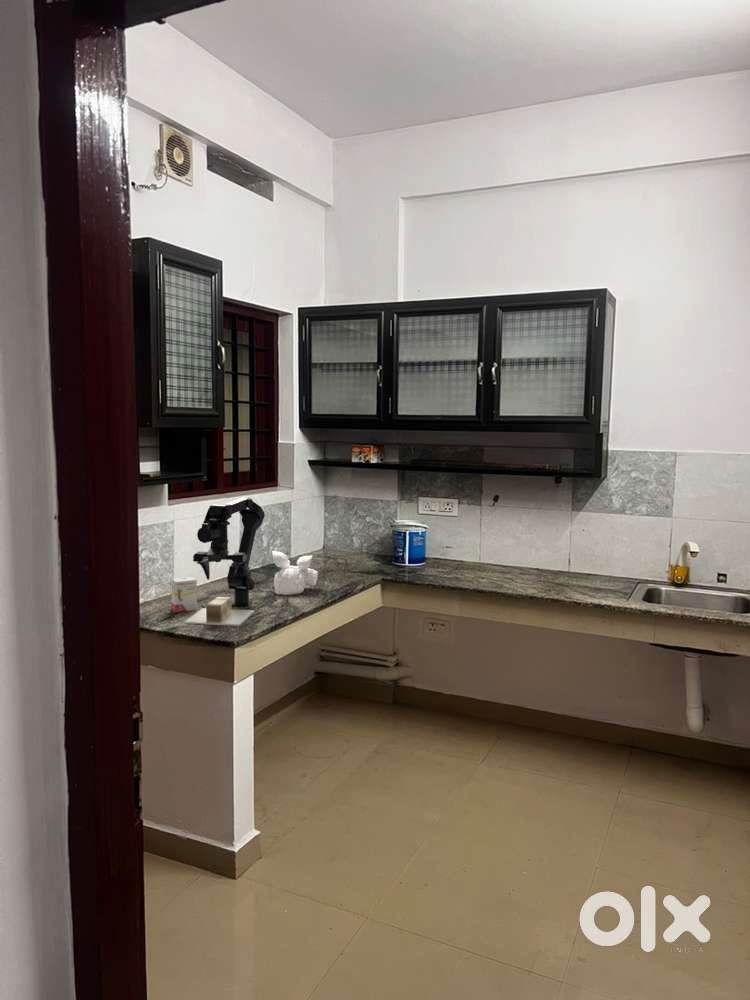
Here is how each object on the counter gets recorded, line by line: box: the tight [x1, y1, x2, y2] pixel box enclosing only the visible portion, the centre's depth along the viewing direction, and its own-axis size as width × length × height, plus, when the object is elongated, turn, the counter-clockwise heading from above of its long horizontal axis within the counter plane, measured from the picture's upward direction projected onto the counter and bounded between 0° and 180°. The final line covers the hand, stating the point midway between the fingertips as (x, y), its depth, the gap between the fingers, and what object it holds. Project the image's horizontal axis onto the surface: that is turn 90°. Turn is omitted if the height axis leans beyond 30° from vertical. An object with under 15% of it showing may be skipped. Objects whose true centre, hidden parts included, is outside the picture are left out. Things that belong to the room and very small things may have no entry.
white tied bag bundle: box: [271, 550, 319, 596], centre depth 312 cm, size 19×20×20 cm
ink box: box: [171, 576, 198, 613], centre depth 279 cm, size 9×5×12 cm, turn 120°
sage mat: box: [184, 607, 255, 627], centre depth 270 cm, size 19×20×1 cm
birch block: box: [205, 596, 232, 622], centre depth 267 cm, size 6×5×12 cm
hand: (220, 580), depth 273 cm, fingers open, 9 cm apart
